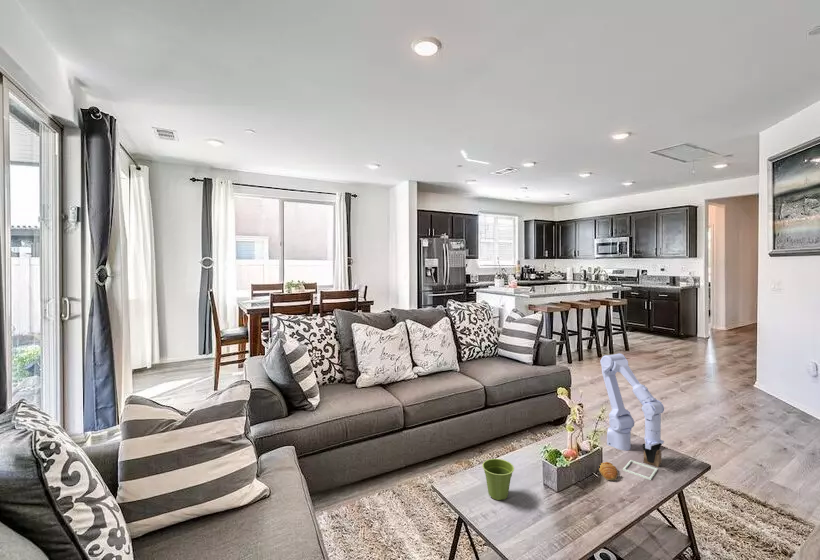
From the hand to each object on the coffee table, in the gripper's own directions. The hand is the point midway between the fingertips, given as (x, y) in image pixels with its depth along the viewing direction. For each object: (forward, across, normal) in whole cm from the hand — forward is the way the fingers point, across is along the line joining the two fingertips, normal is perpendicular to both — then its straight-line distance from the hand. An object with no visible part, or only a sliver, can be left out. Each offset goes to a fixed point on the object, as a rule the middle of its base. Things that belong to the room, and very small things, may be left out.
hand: (652, 459), depth 164 cm
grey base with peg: (+2, 0, 0) cm, 2 cm away
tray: (+2, -10, +2) cm, 11 cm away
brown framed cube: (+1, 0, 0) cm, 1 cm away
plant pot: (+2, -64, +36) cm, 73 cm away
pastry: (+3, -21, +11) cm, 23 cm away
